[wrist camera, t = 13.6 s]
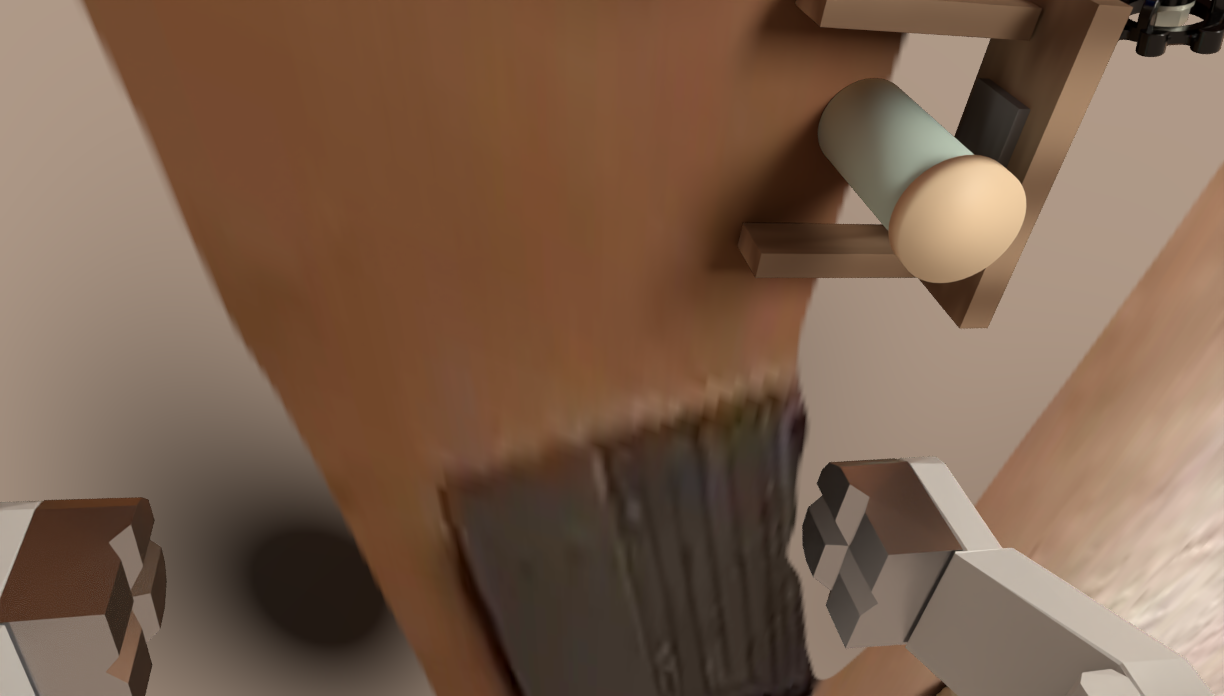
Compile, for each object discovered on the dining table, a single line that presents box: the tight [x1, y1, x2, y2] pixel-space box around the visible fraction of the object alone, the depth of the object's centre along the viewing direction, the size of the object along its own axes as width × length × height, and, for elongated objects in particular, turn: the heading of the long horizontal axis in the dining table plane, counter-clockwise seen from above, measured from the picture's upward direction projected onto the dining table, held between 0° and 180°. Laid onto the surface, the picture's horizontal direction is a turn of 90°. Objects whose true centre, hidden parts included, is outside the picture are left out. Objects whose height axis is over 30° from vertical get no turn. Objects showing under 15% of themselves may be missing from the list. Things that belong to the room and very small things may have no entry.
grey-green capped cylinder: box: [818, 78, 1026, 283], centre depth 41 cm, size 5×5×10 cm
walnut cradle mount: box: [738, 0, 1133, 328], centre depth 43 cm, size 16×12×6 cm
